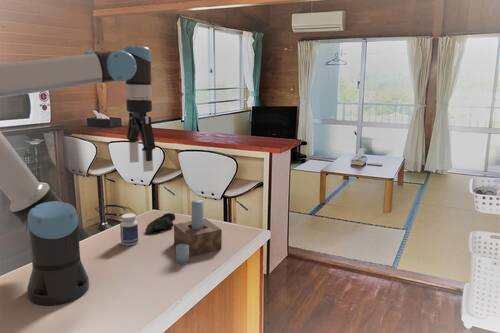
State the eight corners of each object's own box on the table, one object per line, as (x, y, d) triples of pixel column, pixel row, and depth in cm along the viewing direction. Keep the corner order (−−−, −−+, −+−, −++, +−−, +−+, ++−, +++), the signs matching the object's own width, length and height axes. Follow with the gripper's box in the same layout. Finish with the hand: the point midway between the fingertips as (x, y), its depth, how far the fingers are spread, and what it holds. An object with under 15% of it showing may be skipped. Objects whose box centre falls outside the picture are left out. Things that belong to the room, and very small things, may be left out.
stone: (140, 232, 157) (139, 218, 156) (168, 221, 167) (167, 209, 166) (151, 236, 153) (151, 223, 152) (179, 226, 163) (179, 213, 162)
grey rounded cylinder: (178, 264, 132) (178, 250, 130) (174, 259, 135) (174, 244, 134) (190, 262, 133) (190, 248, 132) (187, 257, 137) (186, 242, 136)
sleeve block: (188, 256, 137) (188, 236, 136) (174, 243, 147) (173, 224, 146) (221, 248, 144) (221, 229, 142) (205, 236, 154) (205, 218, 152)
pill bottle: (141, 242, 148) (140, 214, 145) (129, 247, 143) (127, 219, 141) (130, 238, 151) (129, 211, 148) (117, 243, 146) (116, 216, 144)
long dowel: (194, 249, 143) (194, 204, 139) (189, 245, 146) (189, 200, 142) (205, 247, 145) (205, 202, 141) (200, 242, 148) (200, 198, 144)
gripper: (165, 101, 122) (166, 173, 127) (138, 95, 142) (139, 157, 147) (140, 102, 118) (142, 176, 123) (115, 95, 138) (118, 159, 143)
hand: (140, 166), depth 135 cm, fingers open, 13 cm apart
